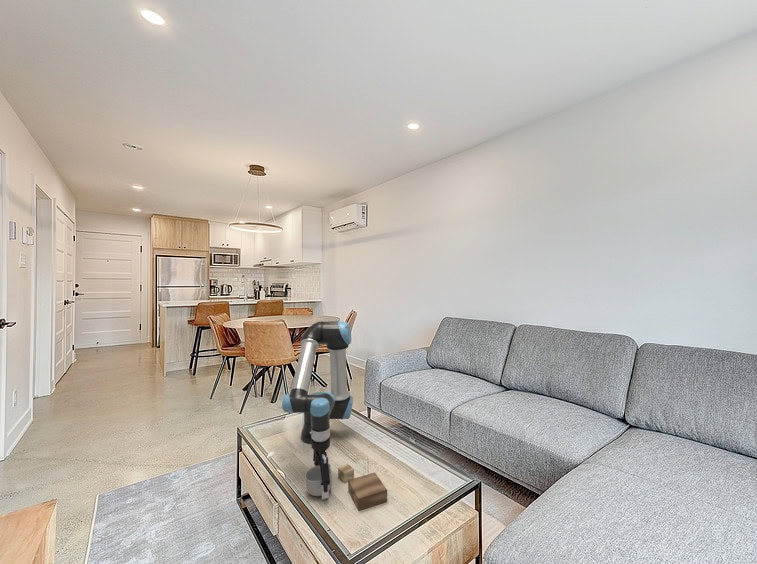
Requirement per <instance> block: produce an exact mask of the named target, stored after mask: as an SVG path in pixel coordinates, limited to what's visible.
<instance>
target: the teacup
mask: <svg viewBox="0 0 757 564" xmlns="http://www.w3.org/2000/svg"><path fill="white" fill-rule="evenodd" d="M328 467H329V477H330V484H329V490H330V489H331V488H332V483H333V480H332V479H333V477H332V468H331V464H330V463H329V462H328ZM304 473H305V474H304V480H305V487H306V490H307V492H308V494H309V495H312V496H314V497H322V492H321V485H320V484H321V483H322V478H321V471H320V466H319V465H318V466H315V465H314V466H312V467H310V468H309V469H307V470H306V471H305V472H304Z"/></svg>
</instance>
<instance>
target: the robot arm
mask: <svg viewBox="0 0 757 564" xmlns="http://www.w3.org/2000/svg"><path fill="white" fill-rule="evenodd" d="M299 342H300V344H299V345H300V352H299V355H298V361H297V365H296V367H295V373H294V376H293V381H292V385H291V388H290V393H288V394H287V393H286V394H285V395H284V396H283V398H282V403H281V407H282V408H281V409H282V410H283V412H284V413H290V414H296V413H297V414H298V413H299V414H302V413H303V427H302V428H301V432H300V440H301V441H302V442H303V443H306V444H310V445H311V446H310V447H311V449H312V451H313V457H312V461H313V465H314V466H318V465H319V466H320V471H321V478H322V483H321V484H320V485H321V492H322V496H321V501H324V500H327V499H329V498H330V495H329V493H330V492H329V491H330V489H329V484H330V477H329V467H328V463H329V457H327V456H328V452H327V450H328V449H329V448H330V445H331V433H330V432H331V427H330V426H331V425H330V420H348V419H350V418H351V415H352V411H353V403H354V397H353V396H352V395H351V393H350V391H348V381H347V380H348V378H347V374H348V372H347V349H348V348H349V345H351V344H352V329H351V326H350V323H349V322H347V321H341V320H338V321H336V320H335V321H321V320H320V321H316V322H314V323H313V324H311V325H310V326H309V327H308V328H307V329H306V330H305V332H303V334H302V336H301V339H300V341H299ZM321 344H322V345H326V349H327V350H328V351H329V367H330V368H329V370H330V391H324V392H322V391H317V392H313V393H309V389H310V383H311V378H312V372H313V367H314V364H315V363H314V362H315V359H316V353H317V350H318V349H319V348H320V345H321ZM308 393H309V394H308Z"/></svg>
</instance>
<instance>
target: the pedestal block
mask: <svg viewBox="0 0 757 564" xmlns="http://www.w3.org/2000/svg"><path fill="white" fill-rule="evenodd" d="M347 487H348V488H347V490H348V492H349V494H350V496H351V498H352V500H353V502H354V504H355V506H356V508H357V510H358V512H359V511H362V510H365V509H368V508H371V507H374V506H377V505H380V504H383V503H386V502H387V500H388V489H387V488H386V486H385V485H384V483H383V482H382V480H381V479H380V477H379V476H378V474H377V473H376V472H372V473H368V474H365V475H361V476H357V477H354V478H353V479H350V480H348V483H347ZM371 509H372V508H371ZM368 510H369V509H368ZM365 511H366V510H365ZM362 512H363V511H362ZM359 513H360V512H359Z"/></svg>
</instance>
